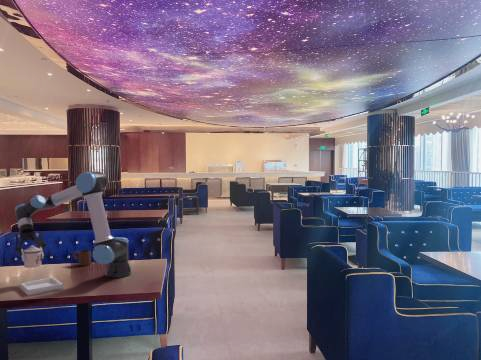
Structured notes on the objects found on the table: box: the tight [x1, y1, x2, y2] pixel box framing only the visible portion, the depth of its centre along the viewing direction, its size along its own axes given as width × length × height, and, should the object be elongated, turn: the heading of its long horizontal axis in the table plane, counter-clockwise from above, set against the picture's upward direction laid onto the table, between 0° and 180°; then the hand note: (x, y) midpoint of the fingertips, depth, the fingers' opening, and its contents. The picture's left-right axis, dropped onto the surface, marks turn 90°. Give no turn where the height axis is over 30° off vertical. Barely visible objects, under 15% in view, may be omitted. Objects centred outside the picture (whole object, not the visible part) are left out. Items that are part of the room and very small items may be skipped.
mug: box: [72, 249, 92, 267], centre depth 271 cm, size 12×8×9 cm, turn 93°
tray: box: [19, 277, 64, 297], centre depth 217 cm, size 17×17×3 cm
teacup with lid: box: [23, 244, 42, 269], centre depth 228 cm, size 12×9×12 cm
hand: (33, 258), depth 225 cm, fingers closed on teacup with lid, 9 cm apart
